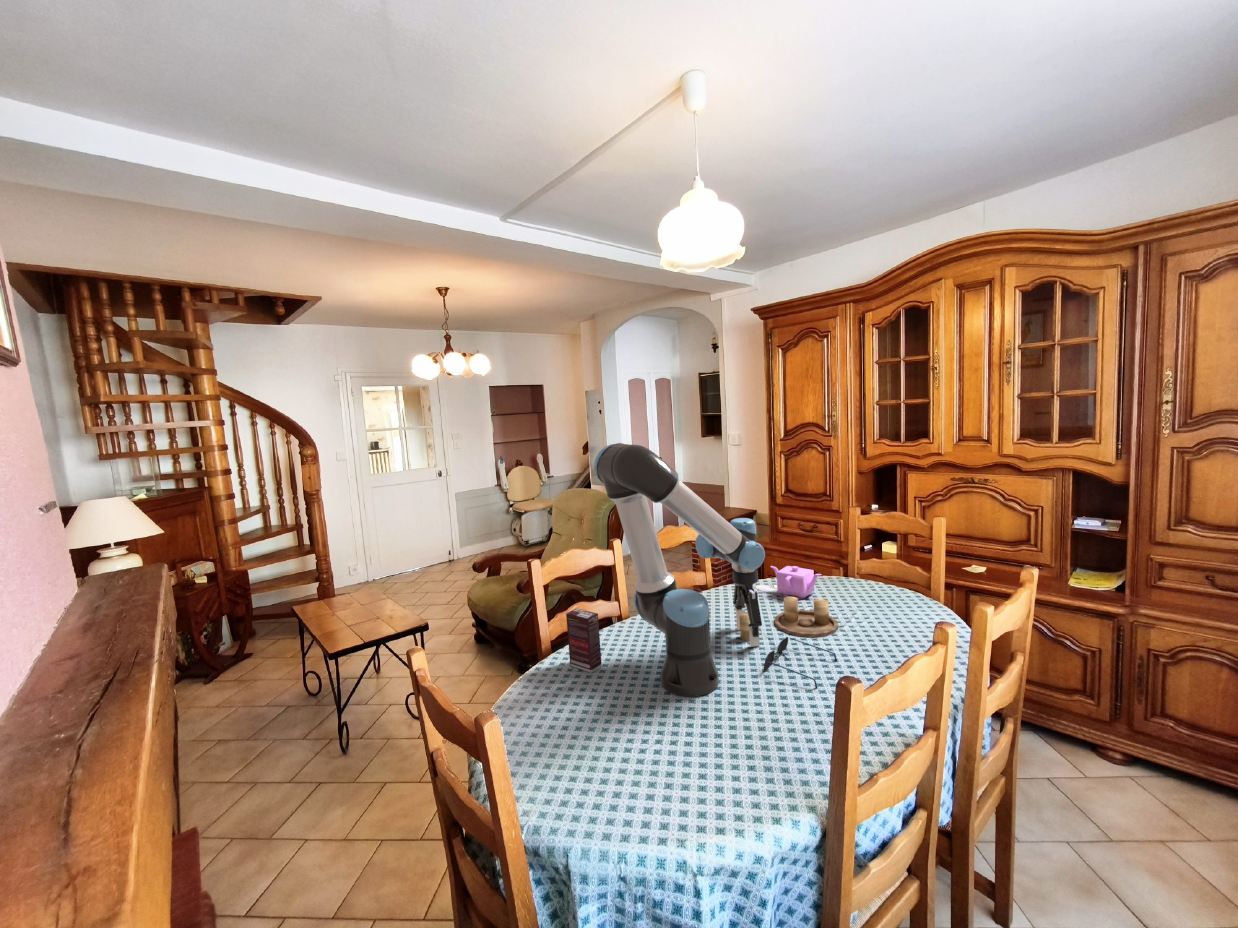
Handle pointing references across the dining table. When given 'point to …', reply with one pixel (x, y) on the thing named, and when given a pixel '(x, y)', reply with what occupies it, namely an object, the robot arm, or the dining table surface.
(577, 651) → the supplement box
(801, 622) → the tray
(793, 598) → the bead
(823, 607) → the bead seated
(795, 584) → the teapot
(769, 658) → the sunglasses
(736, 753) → the dining table surface
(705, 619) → the robot arm
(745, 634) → the bead
